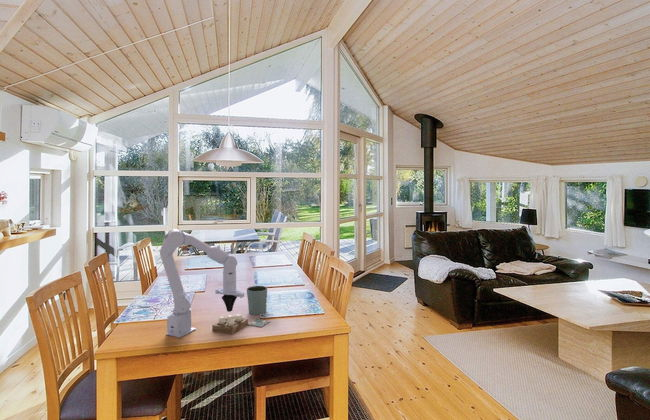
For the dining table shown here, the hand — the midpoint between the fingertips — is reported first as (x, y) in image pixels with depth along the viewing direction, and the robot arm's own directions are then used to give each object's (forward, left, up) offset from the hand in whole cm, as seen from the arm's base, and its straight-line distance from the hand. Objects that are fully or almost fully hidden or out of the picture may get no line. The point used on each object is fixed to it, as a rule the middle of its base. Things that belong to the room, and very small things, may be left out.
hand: (229, 311), depth 162 cm
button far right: (0, -5, -4) cm, 6 cm away
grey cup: (+18, -3, -6) cm, 20 cm away
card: (+6, -11, -6) cm, 14 cm away
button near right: (-5, -5, -4) cm, 8 cm away
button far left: (0, 0, -6) cm, 6 cm away
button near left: (-5, 0, -4) cm, 7 cm away
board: (-3, -2, -6) cm, 7 cm away
